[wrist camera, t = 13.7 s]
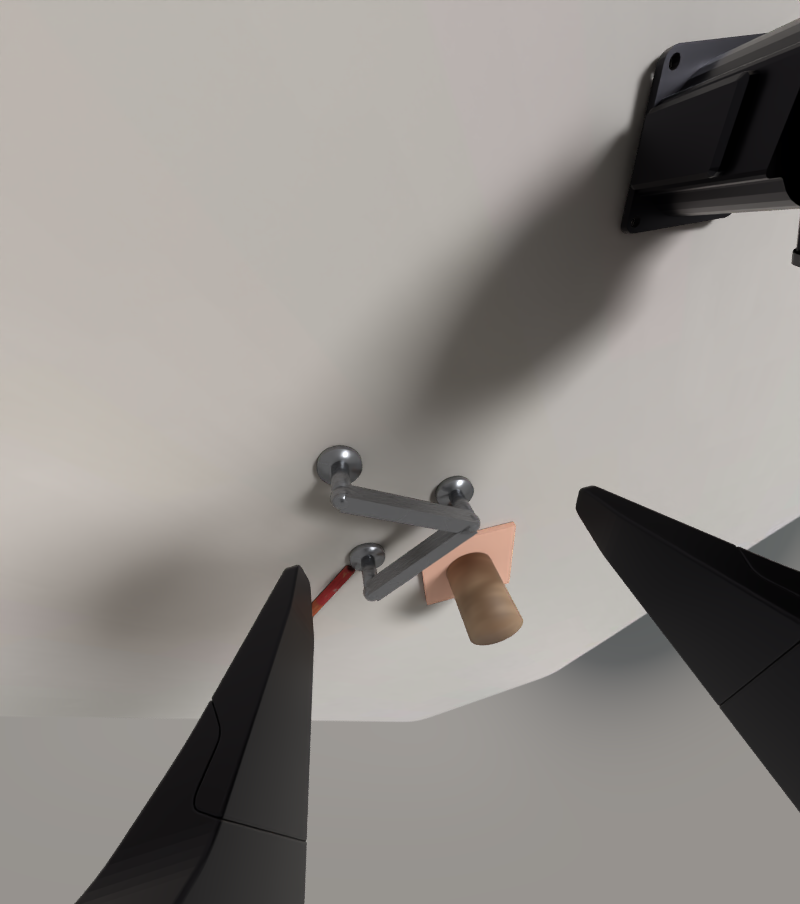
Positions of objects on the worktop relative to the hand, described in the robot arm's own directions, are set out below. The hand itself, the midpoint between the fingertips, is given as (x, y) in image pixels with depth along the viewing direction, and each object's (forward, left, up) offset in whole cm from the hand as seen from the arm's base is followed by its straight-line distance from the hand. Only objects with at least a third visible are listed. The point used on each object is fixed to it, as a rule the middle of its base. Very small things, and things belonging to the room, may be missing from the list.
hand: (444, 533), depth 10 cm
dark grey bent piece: (0, +10, -12) cm, 15 cm away
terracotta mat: (-5, +20, -12) cm, 23 cm away
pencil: (+12, +22, -12) cm, 28 cm away
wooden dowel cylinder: (-5, +20, -11) cm, 23 cm away
